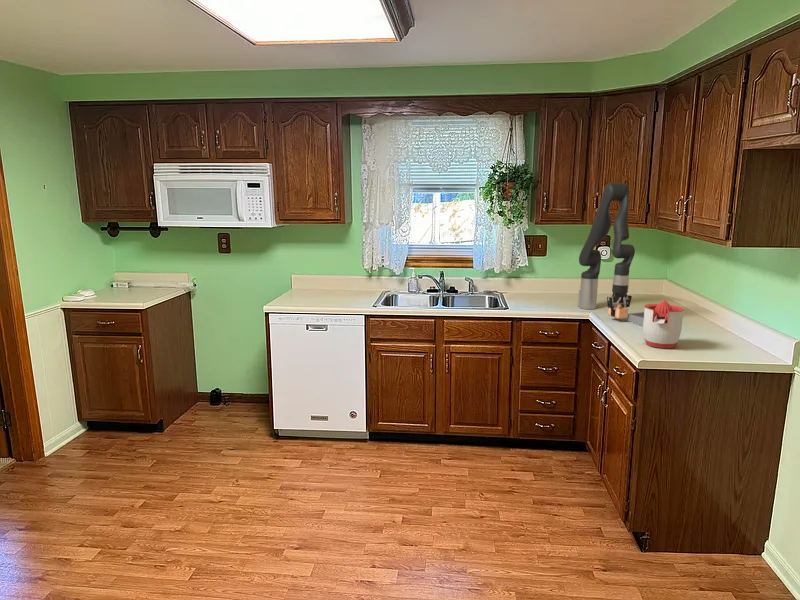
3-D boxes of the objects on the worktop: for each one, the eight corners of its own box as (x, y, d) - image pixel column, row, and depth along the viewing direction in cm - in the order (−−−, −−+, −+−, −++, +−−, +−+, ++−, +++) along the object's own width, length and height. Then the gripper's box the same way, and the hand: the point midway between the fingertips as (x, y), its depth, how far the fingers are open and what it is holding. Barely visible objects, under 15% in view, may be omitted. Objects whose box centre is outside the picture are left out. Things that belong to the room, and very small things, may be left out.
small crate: (608, 315, 291) (608, 305, 290) (616, 314, 293) (617, 305, 292) (618, 318, 284) (619, 309, 283) (627, 318, 286) (628, 308, 285)
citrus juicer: (636, 347, 240) (640, 301, 236) (644, 338, 254) (648, 295, 250) (676, 353, 231) (681, 306, 227) (682, 344, 245) (687, 299, 241)
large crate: (626, 321, 288) (627, 313, 287) (648, 319, 292) (649, 311, 291) (644, 326, 276) (644, 318, 276) (666, 324, 281) (667, 316, 280)
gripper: (626, 281, 291) (624, 313, 294) (604, 283, 286) (601, 315, 290) (637, 284, 284) (634, 316, 287) (614, 285, 279) (611, 318, 283)
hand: (617, 315), depth 289 cm, fingers closed on small crate, 5 cm apart
